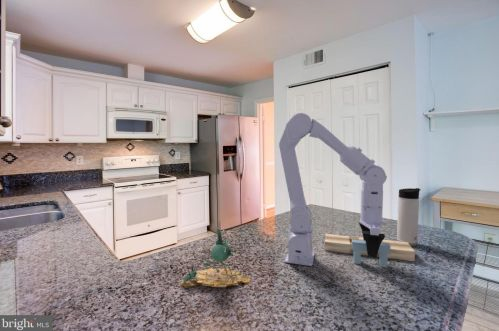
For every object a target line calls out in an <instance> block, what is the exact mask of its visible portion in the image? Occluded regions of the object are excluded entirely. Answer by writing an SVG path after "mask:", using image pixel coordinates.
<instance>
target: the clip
mask: <svg viewBox="0 0 499 331" xmlns="http://www.w3.org/2000/svg"><path fill="white" fill-rule="evenodd" d="M352 250H354V254H353V264H355V265H357V264H358V265H361V264H362V261H361V260H362V256H361V251H366V252H367V248H366V241H364V240H354V239H352ZM378 253H379V257H378V265H379V267H380V268H386V269H387V268H388V259H389V258H388V254H390V244H389V243H383V242H381V244H380V247H379V251H378Z"/></svg>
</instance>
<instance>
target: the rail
mask: <svg viewBox="0 0 499 331" xmlns="http://www.w3.org/2000/svg"><path fill="white" fill-rule="evenodd" d="M352 239H354V240H364V239H363V237H360V236H359V237H357V236H349V235H339V234H330V233H325V236H324V251H328V252H336V253H342V254H353V255H354V250H352ZM382 242H383V243H389V244H390V254H388V259H392V260H402V261H410V262H415V259H416V258H415V257H416V251H415V250H414V249H413V246H410V245H409V244H408V242H400V241H397V240H390V239H389V240H388V239H383V241H382ZM361 255H362V256H367V257H368V254H367V252H366V251H361ZM376 258H379V253H378V254H377V257H376Z"/></svg>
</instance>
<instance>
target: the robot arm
mask: <svg viewBox="0 0 499 331" xmlns="http://www.w3.org/2000/svg"><path fill="white" fill-rule="evenodd" d="M307 135H309V136H308V137H309V138H314V139H318V140H320V141H321V142H322V143H324V144H326V145H327V146H328V147H329V148H330V149H332V150H333V151H334V152H335V153H336V154H338V155H339V161H340V163H342V165H344V166H345V167H347V169H349V170H350V171H351V172H353V173H354V174H355V175H356V176H359V178H360V180H361V190H360V219H359V222H358V225H359V227H360V230H361V233H362V238H363V239H364V241H366V248H367V254H368V256H367V257H369V258H378V257H377V254H378V251H379V247H380V244H381V242H382V241H383V240H385V238H386V235H385V234H384V233H380V228H382V226H388V222H387V220H383V208H384V207H383V206H384V202H383V201H384V184H385V182H386V181H387V178H388V176H387V175H386V174H387V173H386V172H385V170H384V168H383V167H382V166H380V165H376V164H375V163H376V161H375V160H374V159H371V158H369V157H368V156H367V155H365V154H364V153H363V149H361V148H360V147H355V146H347V145H346V144H345V143H343V142H342V141H341V140H340V139H339V138H338V137H336V135H334V133H333V132H331V131H330V130H329V129H327V128H326V127H325V126H324V125H323V124H321V123H320V122H318V121H317V120H316V119H314V118H312V119H311V117H310V116H309V115H308V114H307V113H303V112H298V113H295V114H294V115H293V116H292V117H291V118H289V120H288V121H287V123H286V124H285V128H284V130H283V132H282V135H281V138H280V140H279V141H278V142H279V143H278V146H279V147H278V148H279V153H280V157H281V162H282V167H283V172H284V173H283V174H284V177H285V182H286V188H287V193H288V198H289V203H290V204H289V205H290V207H289V208H290V212H291V215H290V218H289V227H288V244H287V246H288V248H287V250H288V252H287V255H286V257H285V259H284V262H285V263H289V264H294V265H301V266H308V267H312V266H313V262H314V257H315V251H313V236H314V233H313V232H314V228H313V227H312V212H311V209H310V208H309V207H308V206H307V201H306V197H305V194H304V188H303V182H302V177H301V173H300V168H299V167H300V166H299V163H298V162H299V161H298V159H297V158H298V157H297V153H296V146H298V144H299V143H300V142H301V140H302V139H303V138H305V137H306V136H307Z"/></svg>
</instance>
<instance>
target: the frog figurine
mask: <svg viewBox="0 0 499 331" xmlns="http://www.w3.org/2000/svg"><path fill="white" fill-rule="evenodd" d="M216 232H217V239H216V241H215V243H214V244H213V245H212V247H211V250H210V255H211V256H209V257H207V259H206V258H202V259H201V260H200V261H199V262H203V261H204V260H205V261H206V264H205V269H203V270H201V269H200V270H196V269H194V265H192V266H191V270H188V273H187V274H186V275H185V276H184V278H183V280H182V281H181V283H180V286H182V287H184V288H186V287H194V286H195V287H196V286H198V285H202V286H206V287H212V288H226V287H229V286H230V287H231V286H234V287H235V286H239V284H241V283H242V284H243V283H244V284H250V283H251V277H250V278H249V277H247V276H245V275H243V274H242V272H240V271H236V270H233V269H231V267H230V266H229V265H228V264H226V263H224V262H225V261H227V260H228V259H229V257H230V256H231V257H232V256H233V252H235V253H237V251H238V250H237V249H234V250H232V248H231V247H230V246H229V244H228V240H227V239H226V237H227V236H224V240H223V235H222V231H221V228H219V227H218V228H217V229H216ZM209 259H213V261H212V262H211V261H210V260H209ZM215 262H216V263H215ZM218 263H220V264H222V266H223V267H224V268H222V269H221V268H220V269H217V266H216V265H217V264H218ZM209 265H213V267H214V268H212V267H210V268H209V267H208V266H209ZM226 266H227V267H228V268H226Z"/></svg>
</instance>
